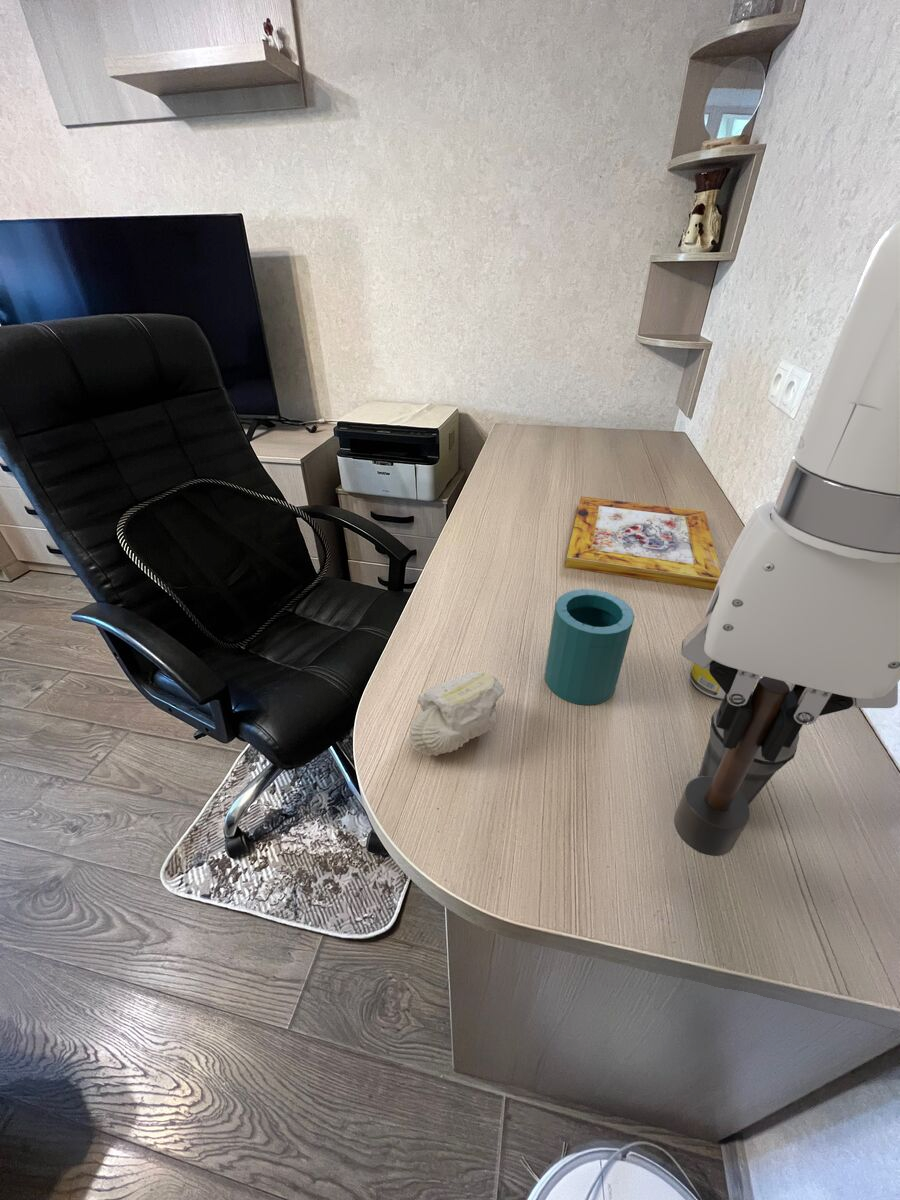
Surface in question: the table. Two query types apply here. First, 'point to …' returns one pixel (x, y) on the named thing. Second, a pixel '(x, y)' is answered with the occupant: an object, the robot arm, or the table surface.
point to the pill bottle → (706, 682)
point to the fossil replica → (455, 713)
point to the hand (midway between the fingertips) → (747, 738)
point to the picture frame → (644, 542)
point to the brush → (728, 781)
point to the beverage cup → (759, 767)
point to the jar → (587, 645)
